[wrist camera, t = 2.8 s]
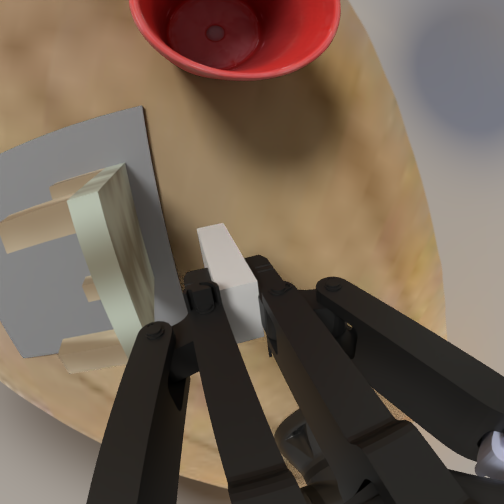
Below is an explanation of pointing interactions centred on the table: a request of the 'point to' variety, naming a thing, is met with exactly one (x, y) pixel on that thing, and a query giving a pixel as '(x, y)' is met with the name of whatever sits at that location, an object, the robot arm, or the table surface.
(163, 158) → the table surface
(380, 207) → the table surface
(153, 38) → the flower pot
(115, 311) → the stool
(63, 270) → the mat
